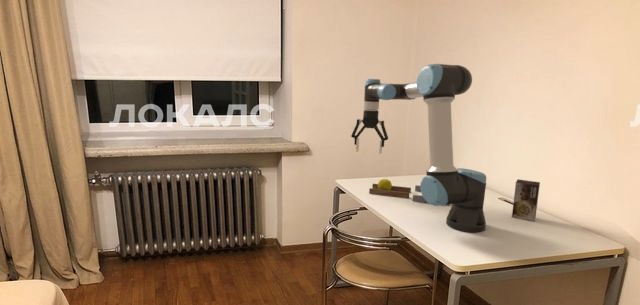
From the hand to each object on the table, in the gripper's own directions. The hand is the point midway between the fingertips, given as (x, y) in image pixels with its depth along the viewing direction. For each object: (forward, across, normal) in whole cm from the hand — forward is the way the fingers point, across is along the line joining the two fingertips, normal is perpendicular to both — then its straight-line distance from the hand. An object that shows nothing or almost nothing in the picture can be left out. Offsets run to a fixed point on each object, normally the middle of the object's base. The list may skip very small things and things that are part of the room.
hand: (368, 152), depth 200 cm
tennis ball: (+21, -9, 0) cm, 23 cm away
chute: (+20, -12, 0) cm, 24 cm away
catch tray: (+20, -32, 0) cm, 38 cm away
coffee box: (+20, -72, +14) cm, 76 cm away
